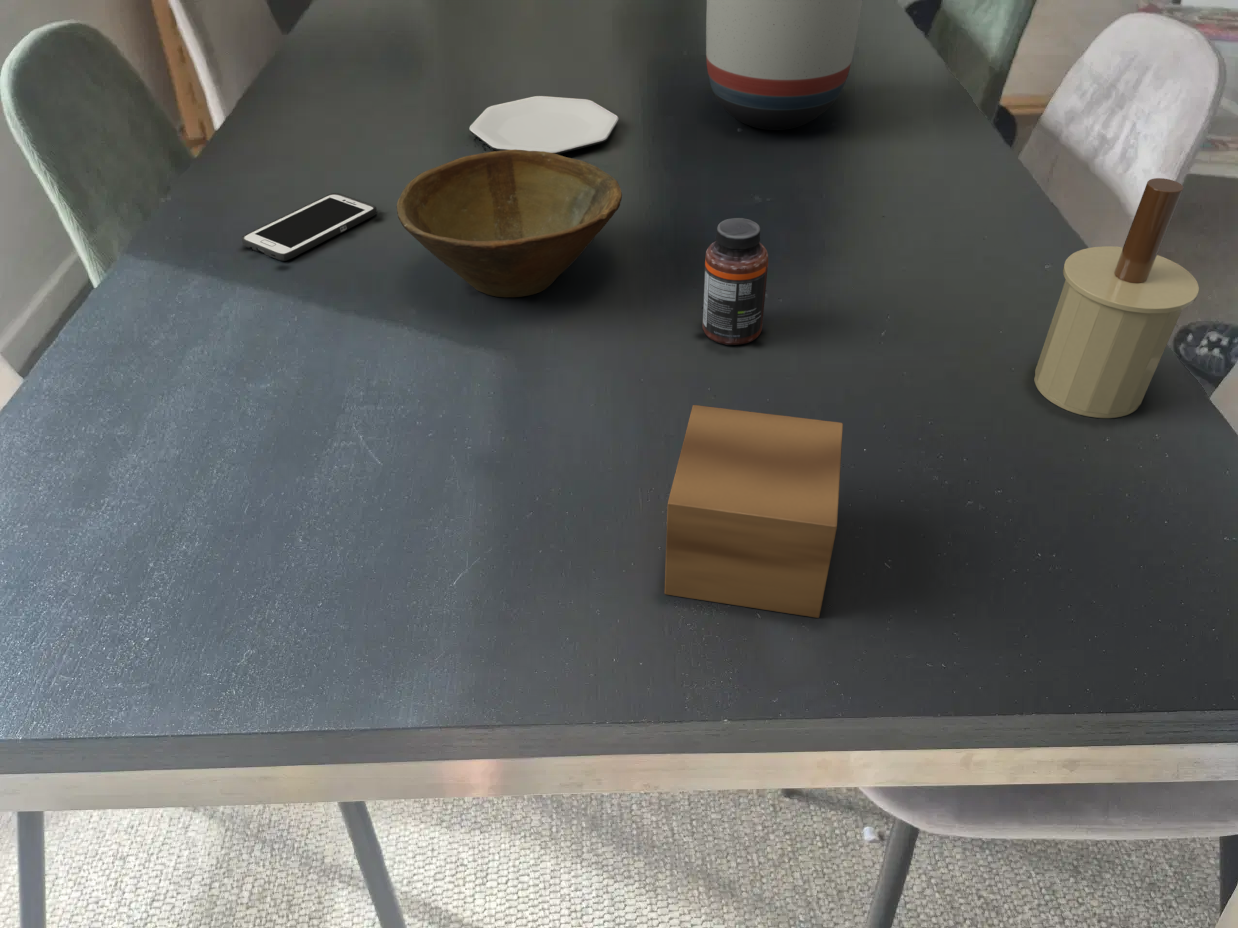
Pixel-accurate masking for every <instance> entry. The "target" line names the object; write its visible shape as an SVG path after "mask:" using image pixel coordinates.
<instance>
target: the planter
mask: <svg viewBox="0 0 1238 928" xmlns="http://www.w3.org/2000/svg"><path fill="white" fill-rule="evenodd" d="M863 1H864V0H706V10H705V11H706V17H705V18H706V20H705V47H706V48H705V56H706V57H705V58H706V59H705V60H706V69H707V77H708V79H709V84H710V87H711V91H712V93H713V95H714V97H715V99H716V100H717V102H718V103H719V104H720V106H721V107H722V108H723V109H724V110H725V111H726V112H727V113H728V114H729V115H730V116H732V117H733V118H734V119H735V120H737V121H739V122H740V123H742V124H744V125H747V126H750V127H752V128H756V129H760V130H767V131H784V130H792V129H794V128H798V127H803V126H804V125H806V124H809V123H810V122H812V121H814V120H816V119H817V118H819V117H820V116H821V115H823V114H824V113H825V112H826V111H828V110H829V109H830V108H831V106H832V105H834V103H835V101H836V100H837V99H838V98H839V96H840V94H841V92H842V90H843V88H844V85H845V84H846V81H847V78H848V77H849V72H850V69H851V65H852V61H853V57H854V53H855V46H856V42H857V36H858V30H859V25H860V19H861V13H862V7H863Z"/></svg>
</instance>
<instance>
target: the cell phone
mask: <svg viewBox="0 0 1238 928" xmlns="http://www.w3.org/2000/svg"><path fill="white" fill-rule="evenodd" d="M377 214H378V213H377V207H376V206H375V205H373V204H371V203H368V202H365V201H364V200H360V199H358V198H355V197H352V196H348V195H347V194H342V193H339V192H331V193H329V194H326V195H325V196H322V197H320V198H318V199H316V200H314V201H312V202H310V203H307V204H305V205H304V206H301V207H299V208H297V209H295V210H293V211H291V212H288V213H287V214H285V215H283V216H281V217H279V218H276V219H275V220H272V221H270V222H267V223H266V224H264V225H261V226H259V227H258V228H256V229H254V230H251V231H249V232H247V233H245V234H244V235H242V236H241V242H242V245H243V246H244V247H246V248H247V249H252V250H253V251H256V252H261V253H263V254H264V255H265V256H268V257H271V258H274V259H276V260H279V261H282V262H286V261H289V260H291V259H294V258H296V257H298V256H299V255H302V254H304V253H305V252H307V251H309V250H311V249H313V248H315V247H317V246H318V245H320V244H322V243H324V242H326V241H328V240H330V239H332V238H334V237H336V236H338V235H340V234H342V233H343V232H345V231H348V230H350V229H351V228H353V227H355V226H357V225H359V224H361V223H363V222H366V220H369V219H370V218H372V217H374V216H376V215H377Z"/></svg>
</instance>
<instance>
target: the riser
mask: <svg viewBox="0 0 1238 928" xmlns="http://www.w3.org/2000/svg"><path fill="white" fill-rule="evenodd" d="M843 431H844V423H843V422H839V421H830V420H821V419H814V418H806V417H805V418H804V417H799V416H798V417H797V416H788V415H780V414H774V413H773V414H772V413H765V412H756V411H747V410H739V409H731V408H721V407H714V406H705V405H698V404H693V405H692V407H691V410H690V414H689V418H688V423H687V425H686V430H685V433H684V439H683V442H682V444H681V449H680V454H679V457H678V461H677V465H676V469H675V473H674V478H673V480H672V484H671V488H670V492H669V496H668V500H667V509H666V535H665V536H666V538H665V569H664V595H667V596H673V597H680V598H687V599H692V600H700V601H705V602H706V601H707V602H712V603H719V604H723V605H724V604H725V605H731V606H738V607H745V608H752V609H758V610H763V611H769V612H770V611H771V612H778V613H782V614H783V613H784V614H789V615H790V614H791V615H796V616H801V617H802V616H803V617H808V618H809V617H810V618H815V619H816V618H817V619H819V618H820V616H821V612H822V606H823V602H824V601H823V600H824V595H825V592H826V591H825V590H826V585H827V581H828V575H829V570H830V565H831V560H832V555H833V550H834V544H835V539H836V535H837V529H838V520H839V501H840V486H841V485H840V483H841V466H842V448H843Z"/></svg>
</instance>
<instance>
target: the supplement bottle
mask: <svg viewBox="0 0 1238 928" xmlns="http://www.w3.org/2000/svg"><path fill="white" fill-rule="evenodd" d="M704 257H705V258H704V259H705V261H704V279H703V298H702V307H701V310H702V319H701V320H702V321H701V322H702V330H703V332H704V334H705V336H707V338H708V339H710V340H711V341H713V342H716V343H719V344H722V345H725V346H740V345H745V344H749V343H751V342H753V341H754V340H756V339H757V338H758V337H759V336H760V334H761V332H762V330H763V323H764V312H765V302H766V293H767V291H766V290H767V281H768V279H767V278H768V271H769V270H768V269H769V252H768V250H767V249H766V247H765V246H764V245H763V243H761V227H760V225H759V224H758V223H757V222H755V221H753V220H751V219H747V218H743V217H733V218H728V219H724V220H722V221H721V222H719V224H718V225H717V227H716V236H715V240H714V242H712V243H710V245H709V246H708V247H707V249H706V251H705V256H704Z"/></svg>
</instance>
